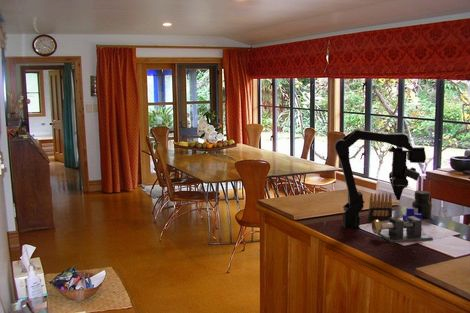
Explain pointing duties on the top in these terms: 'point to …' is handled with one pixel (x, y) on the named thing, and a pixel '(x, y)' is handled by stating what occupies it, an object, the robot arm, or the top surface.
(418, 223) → the housing
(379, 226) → the shaft
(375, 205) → the ammunition clip
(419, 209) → the ink bottle
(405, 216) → the cable clip
